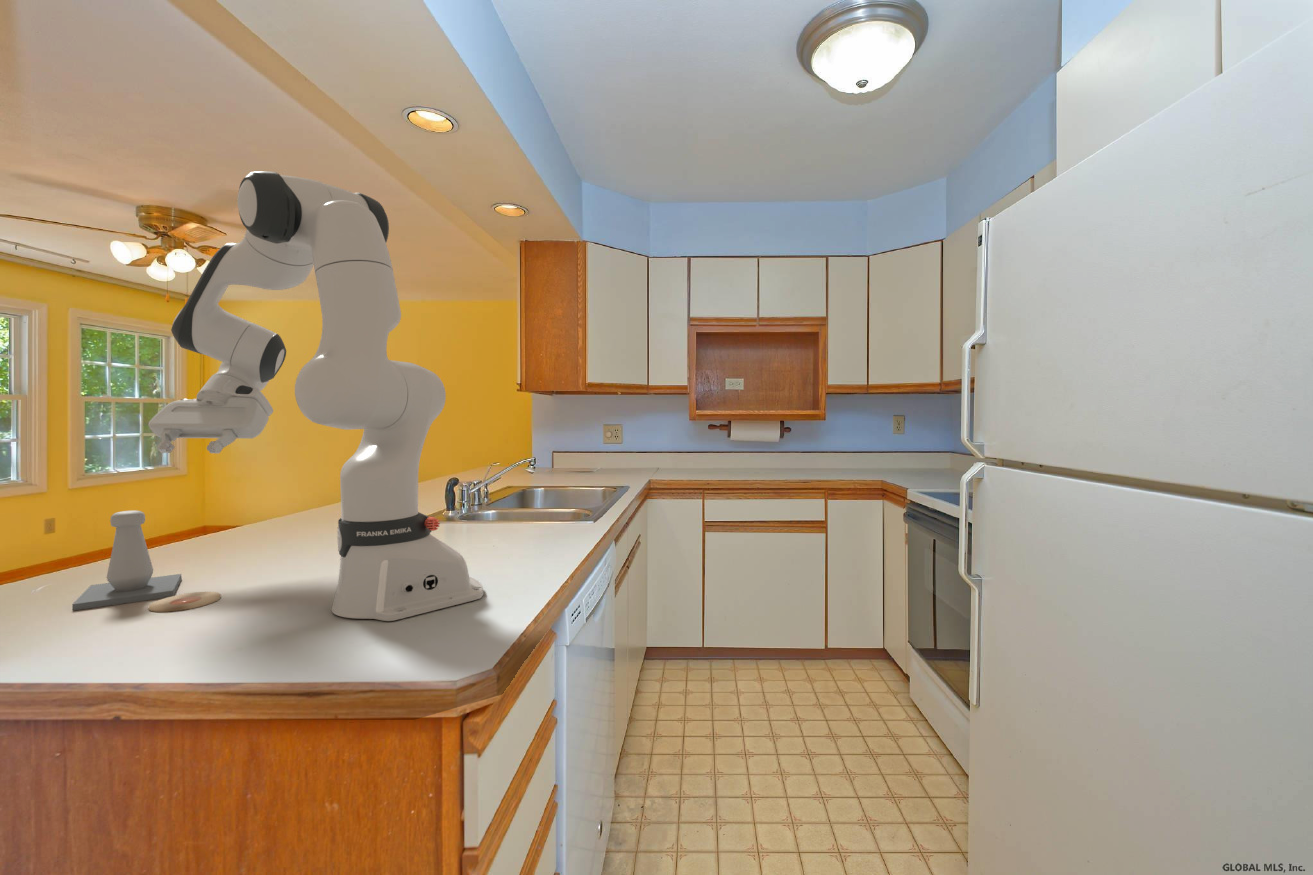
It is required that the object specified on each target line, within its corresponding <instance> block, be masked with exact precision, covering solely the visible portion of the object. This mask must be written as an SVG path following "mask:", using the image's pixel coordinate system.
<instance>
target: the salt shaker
mask: <svg viewBox="0 0 1313 875" xmlns="http://www.w3.org/2000/svg"><path fill="white" fill-rule="evenodd" d="M109 521H110V526H111V527H113V528H115V532H114V538H113V544H112V550H111V554H110V559H109V563H108V569H107V574H106V580H107V583H110V584H111V585H112V587H113V588H114V589H115V590H116V591H117V592H119V591H131V590H136V589H141V588H144V587H145V586H147V585H148V582H149V580H150V578H152V576H153V574H154V568H153V564H152V560H151V557H150V554H149V549H148V546H147V542H146V540H145V535H144V532H143V528H142V525H143V524H145V522H146V515H145V512H143V511H141V510H123V511H117V512H114V513H113V514H112V515H111V516H110V520H109Z"/></svg>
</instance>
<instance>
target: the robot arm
mask: <svg viewBox="0 0 1313 875" xmlns="http://www.w3.org/2000/svg"><path fill="white" fill-rule="evenodd" d="M237 192H238V193H237V200H236V201H237V209H238V214H239V217H240V221H241V223H242V225H243V226H244V228H245V229H246V232H245V233H244V237H243V238H242V239H241V241H239V242H237V243H235V242H227V243H225V244H224V245H223V246H221V247H220V248H219V249H218V250H217V251H216V252H215V253H214V254H213V256H212V257H211V259H210V261H208V264H207V265H206V267H205V269H204V270H203V272H202V274H201V276H200V277H199V279H198V280H197V282H196V284H195V287H194V288H193V290H192V292H191V294H190V296H189V297H188V299H187V301H186V303H185V304H184V306H183V307H182V308H181V310H179V311H178V313H177V314H176V316H175V318H174V319H173V321H172V325H171V326H172V327H171V330H170V331H171V334H172V336H173V338H174V340H175V341H176V342H177V344H178V345H179V347H180V348H182V349H185V350H188V351H190V352H192V353H193V352H194V353H196V354H200V355H205V356H207V357H209V358H211V359H214V360H216V361H220V362H221V364H220V365H219V367H218V370H217V372H216V373H214V374H212V375H211V376H210V377H209V379H208V380H207V381H206V382H205V384H204V385H203V386H202V387H201V388H200V390H199V391H198V392H197V394H196V398H193V399H191V398H190V399H188V398H182V399H180V400H175V401H171V402H170V403H167V404H166V405H165V406H164V407H162V408H161V409H160V410H159V411H158V412H157V413H156V414H155V415H154V416H152V418H151V419H150V420H149V421H148V428H149V429H150V430H151V433H153V434H154V435H155V436H156V437H158V438H160V442H159V444H158V445H157V446H156V449H157V450H158V452H160V453H161V454H171V452H172V451H173V450H174V449H175V447H176V446H175V445H174V444H172V442H175V441H176V440H177V439H215V440H210V442H209V444H207V446H206V450H207V451H208V452H209V453H210V454H220V453H221V452H222V451H223V449H224V448H226V447H228V446H229V445H231V444H232V443H234V442H235V441H236V439H254V438H256V437H258V436H260V435H261V434H262V432H263V431H264V429H265V428H266V425H267V424H268V422H269V418H270V416H271V415H272V414H273V413H274V409H273V406H272V405H271V403H270V402H269V400H268V399H267V397H266V396H265V395H264V393H263V392H261V391H262V390H264V389H265V387H266V386H267V385H268V383H269V382H270V380H272V379H274V378H275V376H276V375H277V374H278V372H279V371H280V369H281V368H282V366H283V364H284V361H285V359H286V355H287V349H286V346H285V344H284V341H283V339H282V337H281V335H280V334H278V333H277V332H274V331H272V330H270V329H268V328H266V327H263V326H261V325H259V324H257V323H255V322H251V321H249V320H247V319H245V318H242V317H240V316H237V315H236V314H233V313H231V312H229V311H226V310H225V309H223V308H222V307H221V306H220V305H219V303H220V301H221V300H222V298H223V296H224V294H225V293H226V291H227V290H228V287H229V286H233V285H234V286H235V285H238V286H248V287H252V288H253V287H254V288H257V289H262V290H263V289H264V290H267V291H269V290H270V291H281V290H282V291H283V290H289V289H293V288H295V287H297V286H300V285H301V284H303V283H304V282H305V281H306V280H307V278H308V277H309V275H310V273H311V272H312V269H313V268H314V269H313V270H314V275H315V280H316V281H315V282H316V285H317V291H318V292H317V293H318V298H319V305H320V311H321V318H322V321H321V322H322V323H321V324H322V328H321V330H322V331H321V336H320V341H319V343H318V347H317V350H316V352H315V354H314V356H312V358H311V359H310V360H309V361H308V362H306V363H305V364H304V366H303V367H301V369H300V370H299V373H298V374H297V377H296V380H295V384H294V397H295V400H296V404H297V406H298V409H299V410H300V412H301V413H302V414H303V416H304V417H305V418H306V419H307V420H309V421H310V422H312V423H314V424H317V425H322V426H326V427H329V428H330V427H331V428H336V429H339V430H345V431H346V430H347V431H348V430H363V431H362V432H363V434H362V436H361V440H360V443H359V445H358V446H357V449H356V451H355V452H354V454H353V455H352V456H351V457H349V458H347V459H348V460H346V461H345V463H344V464H343V465H342V467H341V469H340V479H339V480H340V481H339V482H340V514H341V515H340V516H341V517H340V518H339V519H338V522H337V525H338V527H337V530H336V532H337V551H338V553H339V555H340V560H339V563H340V564H339V571H338V572H339V574H338V579H337V586H336V592H335V596H334V599H333V603H332V606H331V612H332V613H333V614H334V615H335V616H339V617H342V618H346V619H347V618H348V619H365V620H366V619H371V620H372V619H374V620H379V621H384V622H391V621H392V622H393V621H397V620H402V619H405V618H409V617H413V616H417V615H421V614H426V613H429V612H434V611H437V610H440V609H446V608H448V607H453V606H455V605H456V606H457V605H460V604H465V603H469V602H472V601H476V600H480V599H481V598H482V597H483V596H484V587H483V585H482V583H481V582H479V580H477V579H475V578H474V577H471V576H470V573H469V569H468V565H467V563H466V560H465V557H464V556H463V555H462V554H461V553H460V552H459V551H457V550H456V549H454V548H453V547H451V546H450V545H448V544H446V543H445V542H443V541H442V540H440V539H438V538H437V537H436V536H434V535H433V534H431V533H432V531H433V532H434V531H436V530H438V529H439V527H440V525H441V523H440V520H438V518H437V517H434V516H428V515H426V514H424V513H421V512H419V468H420V461H421V460H420V459H421V457H422V451H423V448H424V444H425V440H426V438H427V435H428V433H429V430H430V427H431V426H432V424H433V422H434V421H435V420H436V419H437V418H438V416H439V415H440V414H441V413H442V411H443V409H444V407H445V403H446V396H447V395H446V394H447V393H446V388H445V386H444V383H443V381H442V379H441V378H440V377H439V376H438V375H437V374H436V373H435V372H434V371H432V370H429V369H427V368H426V367H422V366H421V365H419V364H417V363H413V362H409V361H399V360H390V358H389V357H388V353H387V347H388V338H389V333H390V332H392V331H393V330H394V329H395V328H397V326H399V324H400V322H401V320H402V310H401V306H400V299H399V296H398V289H397V283H396V279H395V275H394V269H393V264H392V260H391V256H390V252H389V248H388V246H387V242H388V238H389V234H390V233H389V232H390V223H389V218H388V215H387V213H386V211H385V209H384V208H385V207H383V205H382V204H381V203H380V202H379V201H378V200H376V199H374V198H372V197H371V196H368V195H366V194H363V193H361V192H352V191H350V190H348V189H343V188H341V187H337V186H335V185H331V184H327V183H323V182H322V181H320V180H315V179H310V178H306V177H300V176H299V177H298V176H293V175H283V174H279V173H278V172H276V171H268V170H267V171H264V170H263V171H259V170H257V171H251V172H249V173H248V174H247V175H245V177H243V179H242V180H241V182H240V184H239V189H238V191H237Z"/></svg>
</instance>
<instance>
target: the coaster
mask: <svg viewBox="0 0 1313 875" xmlns="http://www.w3.org/2000/svg"><path fill="white" fill-rule="evenodd" d="M221 598H222V595H221V593H219V592H216V591H198V592H197V591H196V592H188V593H181V594H177V595H176V594H175V595H174V596H172V597H166V598H160V599H159V600H155V601H154V602H151V603H150V604H149V605H148V610H149V611H150V612H155V613H156V612H157V613H168V612H169V613H172V612H180V611H185V610H191V609H192V610H193V609H197V608H201V607H205V606H209V605H210V604H213V603H215V602H218V601H219V600H220V599H221Z"/></svg>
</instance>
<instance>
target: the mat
mask: <svg viewBox="0 0 1313 875" xmlns="http://www.w3.org/2000/svg"><path fill="white" fill-rule="evenodd" d="M181 581H182V573H177V574H169V575H160V576H155V577H152V576H151V578H150V580H149V582H148V585H147V586H145V587H144V588H141V589H136V590H131V591H119V592H117V591H116V590H115V589H114V588H113V587H112V585H111V584H110V583H109V582H107V583H105V582H104V583H98V584H97V583H96V584H90V586H88V588H86V590H85V591H84V592H83V593H81V595H80V596H79V597H78V598H77V599H76V600H75V601H74V602H73V603H72V607H71V608H72V611H80V610H87V609H88V610H89V609H95V608H100V607H107V606H109V607H110V606H116V605H122V604H129V603H137V602H138V603H139V602H144V601H151V600H157V599H159V600H160V599H164V598H168V597H172V596H175V595H176V593H177V590H178V588H179V585H180V583H181Z"/></svg>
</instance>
